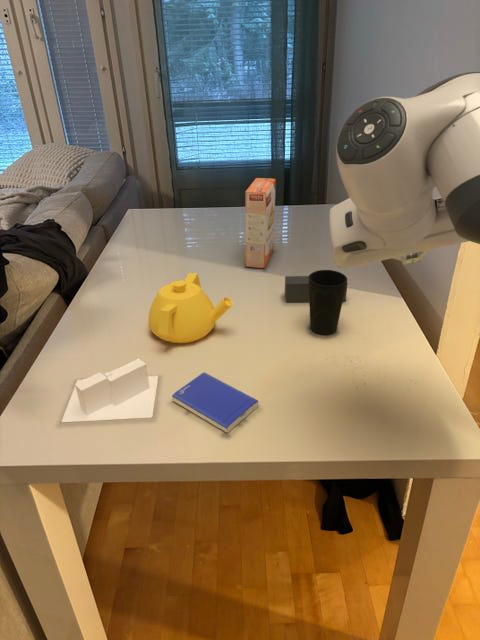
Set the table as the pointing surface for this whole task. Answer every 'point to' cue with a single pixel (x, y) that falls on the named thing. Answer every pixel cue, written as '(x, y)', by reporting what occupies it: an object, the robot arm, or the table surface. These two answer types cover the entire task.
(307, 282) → the stop block
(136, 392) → the napkin holder
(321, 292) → the cup
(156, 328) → the teapot
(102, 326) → the table surface
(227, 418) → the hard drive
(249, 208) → the cracker box
